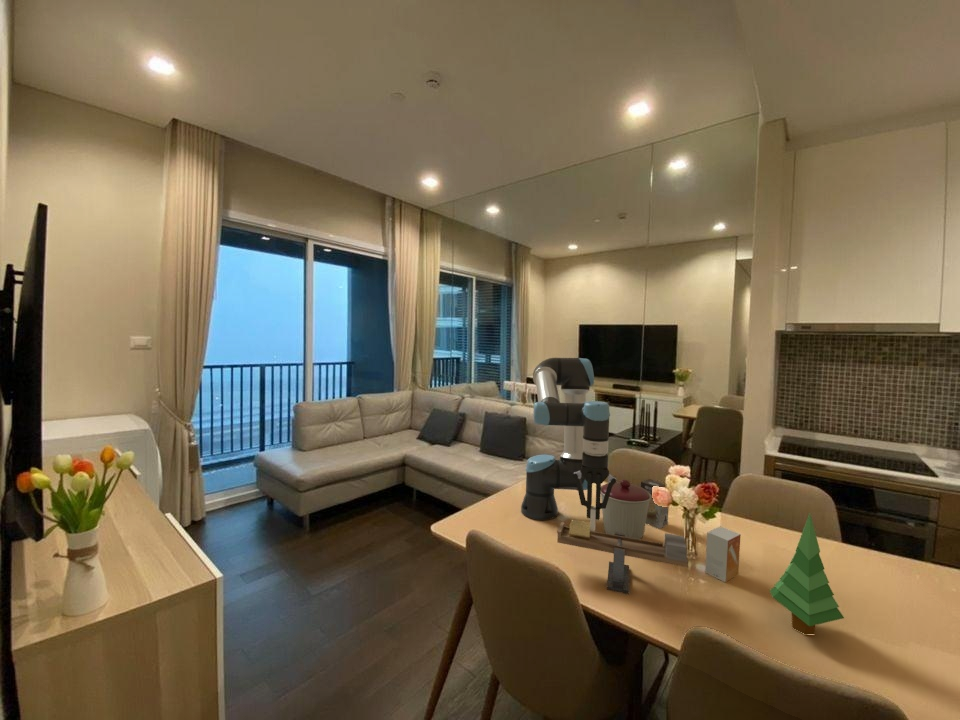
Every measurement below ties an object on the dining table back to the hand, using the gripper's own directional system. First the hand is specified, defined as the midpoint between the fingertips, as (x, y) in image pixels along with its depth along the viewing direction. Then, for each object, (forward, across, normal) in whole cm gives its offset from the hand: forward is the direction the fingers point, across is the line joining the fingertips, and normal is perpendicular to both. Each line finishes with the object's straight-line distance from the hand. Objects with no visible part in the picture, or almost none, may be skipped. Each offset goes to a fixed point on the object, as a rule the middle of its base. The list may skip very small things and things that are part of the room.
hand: (592, 528), depth 123 cm
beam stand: (+14, +8, 0) cm, 16 cm away
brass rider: (+3, -4, 0) cm, 5 cm away
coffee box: (+14, +20, +45) cm, 51 cm away
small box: (+14, +38, +15) cm, 43 cm away
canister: (+14, +9, +29) cm, 33 cm away
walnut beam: (+4, +8, 0) cm, 9 cm away
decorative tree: (+14, +52, -5) cm, 54 cm away
